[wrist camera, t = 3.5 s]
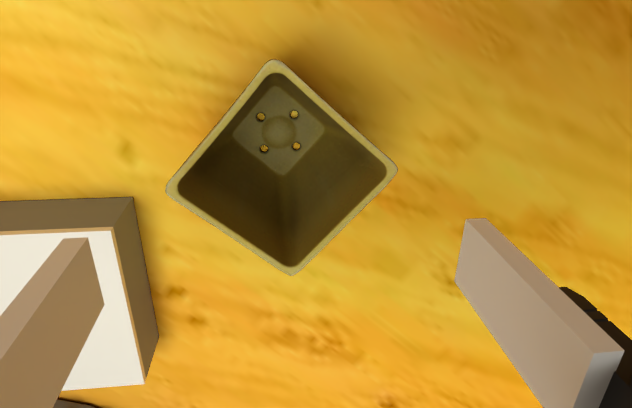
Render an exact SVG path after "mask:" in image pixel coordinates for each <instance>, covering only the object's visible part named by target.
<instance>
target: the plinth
mask: <svg viewBox="0 0 632 408" xmlns="http://www.w3.org/2000/svg"><path fill="white" fill-rule="evenodd" d="M85 237H88V240H89V244H90V248H91V252H92V256H93V260H94V264H95V268H96V272H97V276H98V280H99V284H100V288H101V292H102V296H103V300H104V304H105V305H104V307H103V309H102V311H101V313H100V315H99V317H98V318H97V320H96V322H95V324H94V326H93V328H92V330H91V332H90V334H89V336H88V338H87V340H86V342H85V344H84V346H83V348H82V350H81V352H80V354H79V356H78V358H77V360H76V362H75V364H74V366H73V368H72V370H71V372H70V374H69V376H68V378H67V380H66V382H65V384H64V386H63V388H62V390H61V391H64V390H77V389H89V388H101V387H114V386H126V385H139V384H145V381H146V377H147V374H148V371H149V367H150V364H151V361H152V358H153V354H154V351H155V348H156V344H157V341H158V338H159V334H158V329H157V324H156V318H155V313H154V308H153V302H152V297H151V292H150V286H149V281H148V276H147V270H146V265H145V260H144V254H143V249H142V244H141V239H140V233H139V228H138V223H137V217H136V212H135V207H134V201H133V197H116V198H86V199H57V200H28V201H0V316H1V315H2V313H3V312H4V311H5V310H6V308H7V307H8V306H9V305H10V303H11V302H12V301H13V300H14V299H15V297H16V296H17V295H18V294H19V292H20V291H21V290H22V289H23V288H24V286H25V285H26V284H27V283H28V281H29V280H30V279H31V278H32V276H33V275H34V274H35V273H36V272H37V270H38V269H39V268H40V267H41V265H42V264H43V263H44V262H45V260H46V259H47V258H48V257H49V256H50V254H51V253H52V252H53V251H54V249H55V248H56V247H57V246H58V244H59V243H60V242H61V241H62V240H63V239H64V238H85Z"/></svg>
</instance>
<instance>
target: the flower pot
mask: <svg viewBox="0 0 632 408" xmlns="http://www.w3.org/2000/svg"><path fill="white" fill-rule="evenodd" d="M293 110H294V111H297V112H298V117H297V118H291V116H290V112H291V111H293ZM258 113H263V114H264V115H265V119H264V120H263V121H259V120H258V119H257V114H258ZM296 142H297V143H299V144H300V148H299V149H298V150H294V149H293V147H292V145H293V144H294V143H296ZM262 145H266V146H267V147H268V151H267V152H262V151H261V150H260V147H261V146H262ZM397 171H398V169H397V166H396V165H395V163H394V162H393V161H392V160H391V159H390V158H388V157H387V156H386V155H385V154H384V153H382V152H381V151H380V150H379V149H378V148H377V147H376V146H375V145H373V144H372V143H371V142H370V141H369V140H368V139H367V138H365V137H364V136H363V135H362V134H361V133H360V132H359V131H358V130H356V129H355V128H354V127H353V126H352V125H351V124H350V123H348V122H347V121H346V120H345V119H344V118H343V117H342V116H341V115H340V114H338V113H337V112H336V111H335V110H334V109H333V108H332V107H331V106H330V105H328V104H327V103H326V102H325V101H324V100H323V99H322V98H321V97H320V96H319V95H318V94H316V93H315V92H314V91H313V90H312V89H311V88H310V87H309V86H308V85H307V84H306V83H305V82H303V81H302V80H301V79H300V78H299V77H298V76H297V75H296V74H295V73H294V72H293V71H292V70H291V69H290V68H289V67H288V66H286V65H285V64H284V63H283V62H281V61H279V60H276V59H271V60H269V61H268V62H267V63H266V64H265V65H264V66H263V67H262V68H261V70H260V71H259V72H258V74H257V75H256V76H255V77H254V79H253V80H252V81H251V83H250V84H249V85H248V86H247V88H246V89H245V90H244V91H243V92H242V94H241V95H240V96H239V97H238V99H237V100H236V101H235V102H234V104H233V105H232V106H231V107H230V108H229V110H228V111H227V112H226V113H225V114H224V116H223V117H222V118H221V119H220V120H219V122H218V123H217V124H216V125H215V126H214V128H213V129H212V130H211V131H210V132H209V134H208V135H207V136H206V137H205V138H204V139H203V141H202V142H201V143H200V144H199V145H198V147H197V148H196V149H195V150H194V151H193V152H192V154H191V155H190V156H189V157H188V159H187V160H186V161H185V162H184V163H183V165H182V166H181V167H180V169H179V170H178V171H177V172H176V173H175V174H174V176H173V177H172V178H171V179H170V180H169V182H168V183H167V185H166V190H165V191H166V194H167V195H168V196H169V197H171V198H172V199H173V200H175V201H176V202H178V203H179V204H181V205H183V206H184V207H186V208H187V209H189V210H190V211H192V212H193V213H195V214H196V215H198V216H199V217H201V218H202V219H204V220H206V221H207V222H209V223H210V224H212V225H213V226H215V227H216V228H218V229H219V230H221V231H222V232H224V233H225V234H227V235H228V236H230V237H231V238H233V239H234V240H236V241H237V242H239V243H240V244H242V245H243V246H245V247H246V248H248V249H249V250H251V251H252V252H254V253H255V254H257V255H258V256H259V257H261V258H262V259H264V260H265V261H267V262H268V263H270V264H271V265H273V266H274V267H276V268H277V269H279V270H281V271H282V272H284V273H286V274H288V275H290V276H293V275H294V274H296V273H298V272H299V271H300V270H301V269H303V268H304V267H305V266H306V265H307V264H308V263H309V262H310V261H311V260H312V259H313V258H314V257H315V256H316V255H317V254H318V253H319V252H320V251H321V250H322V249H323V248H324V247H325V246H326V245H327V244H328V243H329V242H330V241H331V240H332V239H333V238H334V237H335V236H336V235H337V234H338V233H339V232H340V231H341V230H342V229H343V228H344V227H345V226H346V225H347V224H348V223H349V222H350V221H351V220H352V219H353V218H354V217H355V216H356V215H357V214H358V213H359V212H360V211H361V210H362V209H363V208H364V207H365V206H366V205H367V204H368V203H369V202H370V201H371V200H372V199H373V198H374V197H375V196H376V195H377V194H378V193H379V192H380V191H381V190H383V188H384V187H385V186H386V185H387V184H388V183H389V182H390V181H391V180H392V178H393V177H394V176H395V174H396V173H397Z"/></svg>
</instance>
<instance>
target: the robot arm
mask: <svg viewBox="0 0 632 408" xmlns="http://www.w3.org/2000/svg"><path fill="white" fill-rule="evenodd" d="M455 283H456V284H457V286H458V287H459V289H460V290H461V291H462V293H463V294H464V296H465V297H466V298H467V300H468V301H469V303H470V304H471V306H472V307H473V308H474V310H475V311H476V313H477V314H478V316H479V317H480V318H481V320H482V321H483V323H484V324H485V325H486V327H487V328H488V330H489V331H490V333H491V334H492V335H493V337H494V338H495V340H496V341H497V343H498V344H499V345H500V347H501V348H502V350H503V351H504V352H505V354H506V355H507V357H508V358H509V360H510V361H511V362H512V364H513V365H514V367H515V368H516V370H517V371H518V372H519V374H520V375H521V377H522V378H523V379H524V381H525V382H526V384H527V385H528V387H529V388H530V389H531V391H532V392H533V394H534V395H535V397H536V398H537V399H538V401H539V402H540V404H541V405H542V406H543V408H632V340H631V339H630V338H628V337H627V336H626V335H625V334H624V333H623V332H622V331H621V330H620V329H619V328H617V327H616V326H615V325H614V324H613V323H612V322H611V321H608V318H606V317H605V316H604V315H603V314H602V313H601V312H600V311H597V309H596V308H595V307H594V306H593V305H592V304H591V303H590V302H589V301H588V300H587V299H585V298H584V297H583V296H581V295H579V294H578V293H576V292H574V291H572V290H571V289H569V288H567V287H559V288H558V287H557V286H556V285H555V284H554V283H553V282H552V281H551V280H550V279H549V278H548V277H547V276H546V275H545V274H544V273H543V272H542V271H541V270H540V269H538V268H537V267H536V266H535V265H534V264H533V263H532V262H531V261H530V260H529V259H528V258H527V257H526V256H525V255H524V254H523V253H522V252H521V251H520V250H519V249H517V248H516V247H515V246H514V245H513V244H512V243H511V242H510V241H509V240H508V239H507V238H506V237H505V236H504V235H503V234H502V233H501V232H500V231H499V230H497V229H496V228H495V227H494V226H493V225H492V224H491V223H490V222H489V221H488V220H487V219H486V218H479V219H466V221H465V226H464V232H463V237H462V243H461V248H460V253H459V259H458V264H457V270H456V275H455ZM104 305H105V304H104V300H103V296H102V292H101V288H100V284H99V280H98V276H97V272H96V268H95V264H94V260H93V256H92V252H91V248H90V244H89V240H88V237H85V238H64V239H63V240H62V241H61V242H60V243H59V244H58V246H57V247H56V248H55V249H54V251H53V252H52V253H51V254H50V256H49V257H48V258H47V259H46V260H45V262H44V263H43V264H42V265H41V267H40V268H39V269H38V270H37V272H36V273H35V274H34V275H33V276H32V278H31V279H30V280H29V281H28V283H27V284H26V285H25V286H24V288H23V289H22V290H21V291H20V292H19V294H18V295H17V296H16V297H15V299H14V300H13V301H12V302H11V303H10V305H9V306H8V307H7V308H6V310H5V311H4V312H3V313H2V315H1V316H0V408H53V406H54V404H55V402H56V400H57V398H58V396H59V394H60V392H61V390H62V388H63V386H64V384H65V382H66V380H67V378H68V376H69V374H70V372H71V370H72V368H73V366H74V364H75V362H76V360H77V358H78V356H79V354H80V352H81V350H82V348H83V346H84V344H85V342H86V340H87V338H88V336H89V334H90V332H91V330H92V328H93V326H94V324H95V322H96V320H97V318H98V317H99V315H100V313H101V311H102V309H103V307H104Z"/></svg>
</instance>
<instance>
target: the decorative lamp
mask: <svg viewBox="0 0 632 408" xmlns="http://www.w3.org/2000/svg"><path fill="white" fill-rule="evenodd" d="M53 408H95V407H93V406H91V405H87V404H81V403H75V402H70V401H64V400H56V402H55V404H54V406H53Z"/></svg>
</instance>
